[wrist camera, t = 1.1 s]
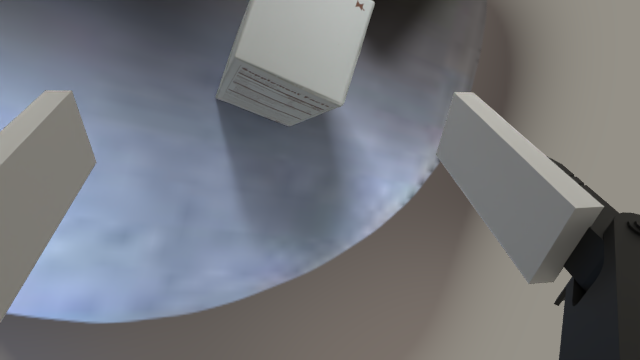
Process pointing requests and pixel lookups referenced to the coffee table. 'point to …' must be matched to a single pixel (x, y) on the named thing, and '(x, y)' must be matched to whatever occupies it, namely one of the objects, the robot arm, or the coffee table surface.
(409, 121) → the coffee table surface
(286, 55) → the supplement box
